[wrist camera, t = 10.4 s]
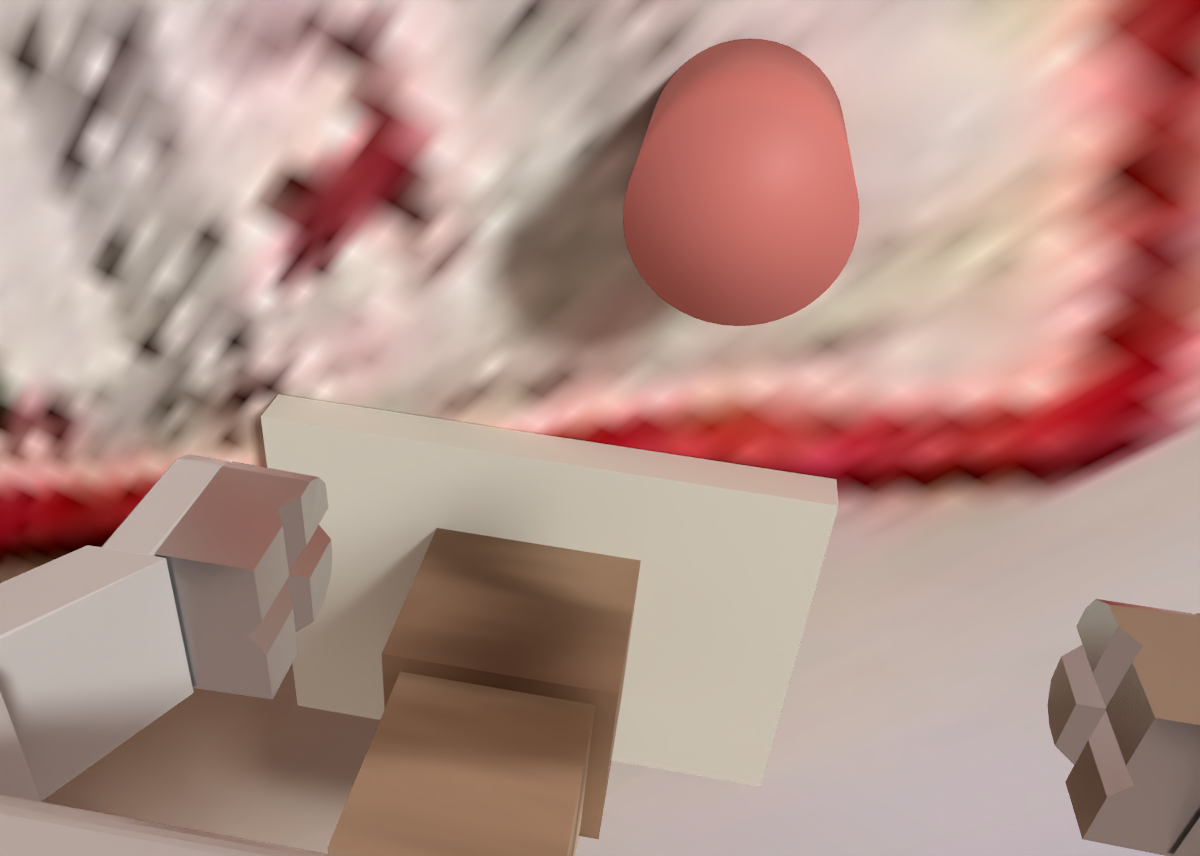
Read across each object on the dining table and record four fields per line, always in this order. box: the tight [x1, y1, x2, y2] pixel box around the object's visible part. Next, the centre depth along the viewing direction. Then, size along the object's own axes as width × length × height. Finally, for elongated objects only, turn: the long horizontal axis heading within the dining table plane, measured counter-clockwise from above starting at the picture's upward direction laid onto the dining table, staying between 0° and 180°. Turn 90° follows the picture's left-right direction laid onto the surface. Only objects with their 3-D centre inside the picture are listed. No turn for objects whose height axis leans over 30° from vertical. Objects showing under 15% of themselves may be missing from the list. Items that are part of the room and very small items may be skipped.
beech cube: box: [328, 672, 595, 856], centre depth 25 cm, size 5×5×5 cm
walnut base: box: [382, 528, 641, 839], centre depth 29 cm, size 6×6×5 cm
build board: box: [261, 394, 839, 787], centre depth 31 cm, size 16×12×1 cm
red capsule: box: [623, 39, 859, 326], centre depth 21 cm, size 4×4×5 cm
